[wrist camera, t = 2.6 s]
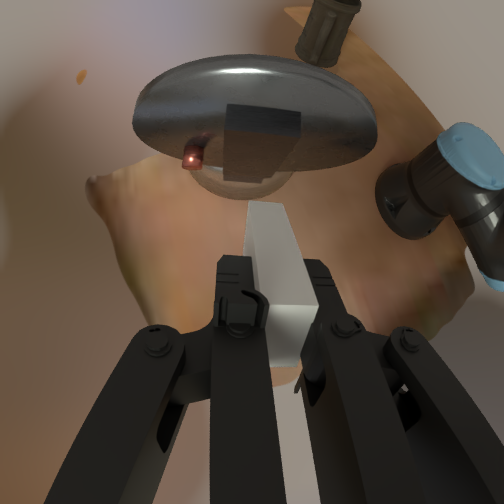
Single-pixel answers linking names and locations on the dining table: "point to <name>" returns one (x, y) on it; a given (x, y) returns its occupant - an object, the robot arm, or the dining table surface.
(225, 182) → the cooker pot
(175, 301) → the dining table surface
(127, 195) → the dining table surface
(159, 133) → the cooker lid
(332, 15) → the beer stein
